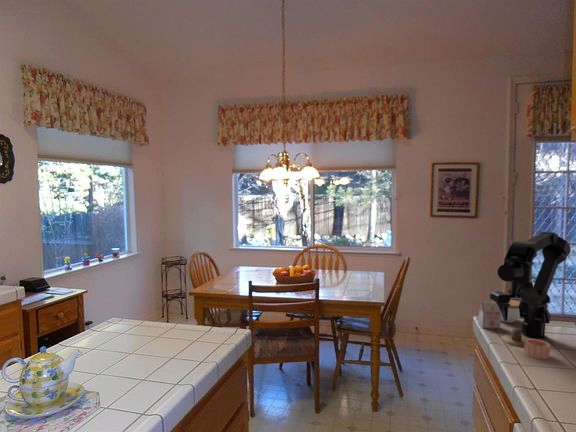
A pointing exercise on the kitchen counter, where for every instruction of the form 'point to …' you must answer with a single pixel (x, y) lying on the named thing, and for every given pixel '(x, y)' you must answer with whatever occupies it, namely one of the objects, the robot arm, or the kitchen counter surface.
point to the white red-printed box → (489, 315)
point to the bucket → (537, 348)
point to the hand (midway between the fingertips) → (518, 320)
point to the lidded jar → (512, 312)
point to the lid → (515, 338)
